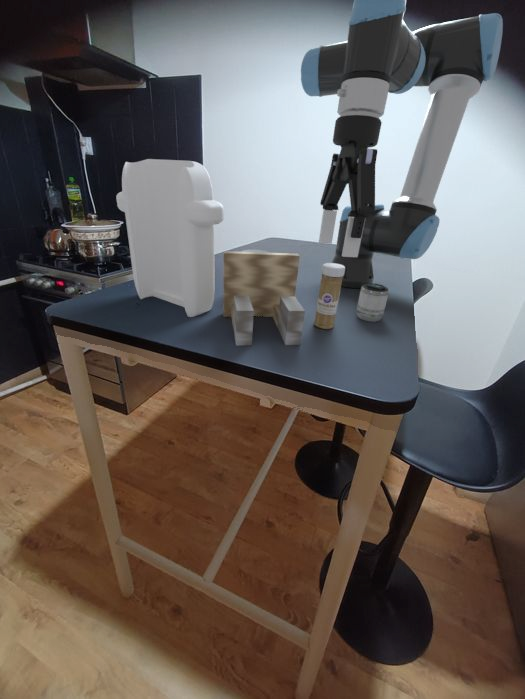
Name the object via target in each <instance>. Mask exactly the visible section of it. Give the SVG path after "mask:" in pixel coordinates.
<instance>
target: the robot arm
mask: <svg viewBox="0 0 525 699" xmlns="http://www.w3.org/2000/svg"><path fill="white" fill-rule="evenodd" d="M406 5H407V0H353V5H352V10H351V14H350V19H349V21H348V33H347V34H348V35H347V40H346V41H341V42H336V43H331V44H326V45H319V46H318V47H314V48H310V49H309V50H307V52H305V54H304V56H303V58H302V61H301V65H300V81H301V86H302V89H303V91H304V93H305V94H306V95H307V96H309V97H320V98H322V97H325V96H326V97H327V96H334V95H336V96H338V97H339V99H338V104H337V111H336V112H337V114H338V117H337V119H336V120H335V123H334V131H333V136H332V143H333V144H334V145H335V146H338V147H339V146H340V148H341V149H340V152H339V153H336V152H335V153H333V154H332V157H331V158H332V159H331V163H330V168H329V172H328V175H327V179H326V182H325V186H324V189H323V192H322V196H321V199H320V206H322V209H323V211H322V218H321V224H320V231H319V239H318V243H319V244H329V245H332V243H333V237H334V231H335V225H336V220H337V214H338V211H339V202H340V200H341V197H342V195H343V193H344V191H345V189H346V187H347V185H348V193H349V200H350V202H349V203H350V205H346V206H345V207H344V208H343V210H342V213H341V216H340V221H339V228H338V232H337V233H338V234H337V240H336V246H335V252H334V255H333V258H332V259H331V262H330V263H336V264H341V265H343V266H345V273H344V276H343V278H342V284H341V287H344V288H352V289H361V287H362V286H363V285H365V284H369V283H374V277H375V276H374V268H373V267H374V266H373V259H374V258H373V257H374V253H376V254H381V255H386V256H391V257H395V258H396V257H397V258H401V259H409V260H418V259H419V258H421V257H422V256H424V255H425V253H426V252H427V251H428V250H429V248H430V246H431V245H432V243H433V241H434V239H435V237H436V235H437V232H438V228H439V226H440V221H441V220H440V218H439V216H438V215H436V213H437V212H438V210H437V206H436V205H435V203H434V201H435V198H436V194H437V192H438V189H439V186H440V184H441V182H442V178H443V175H444V172H445V171H446V170H445V169H446V167H447V164H448V161H449V159H450V155H451V152H452V150H453V146H454V144H455V140H456V139H457V135H458V132H459V130H460V126H461V124H462V121H463V118H464V115H465V112H466V110H467V107H468V103H469V100H470V99H472V98H473V97H474V96H476V95H477V94H478V93H479V92H480V89H481V86H482V84H483V82H487V81H490V80H491V79H493V77H494V74H495V71H496V69H497V66H498V60H499V57H500V52H501V47H502V46H501V45H502V38H503V32H504V31H503V29H504V26H503V25H504V23H503V21H504V20H503V17H502V15H501V14H499V13H496V12H494V13H493V12H492V13H488V14H487V13H486V14H482V13H481V14H479V15H477V16H472V17H468V18H466V17H465V18H463V19H457V20H452V21H446V22H442V23H435V24H431V25H428V26H425V27H422V28H419V29H417V30H414V31H412V30H411V29H410V28H409V27H408V26H407V24H406V23H405V21H404V14H405V13H406V10H407V7H406ZM414 87H427V88H428V89H427V90H428V92H429V95H430V97H431V99H430V102H429V104H428V108H427V112H426V114H425V118H424V122H423V124H422V127H421V130H420V134H419V137H418V139H417V143H416V146H415V149H414V152H413V156H412V159H411V162H410V165H409V167H408V171H407V174H406V177H405V181H404V184H403V187H402V189H401V193H400V197H398V198H397V199H395V200H394V201H392V203H391V206H390V209H389V210H385V205H384V204H376V164H377V157H378V149H377V148H374V147H376V146H377V145H378V142H379V139H380V134H381V128H382V124H383V122H382V119H380V118H381V117H383V116H384V115H385V109H386V105H387V100H388V96H389V93H390V94H394V95H395V94H396V95H401V94H404V93H406V92H408V91H410V90H411V89H412V88H414Z"/></svg>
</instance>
